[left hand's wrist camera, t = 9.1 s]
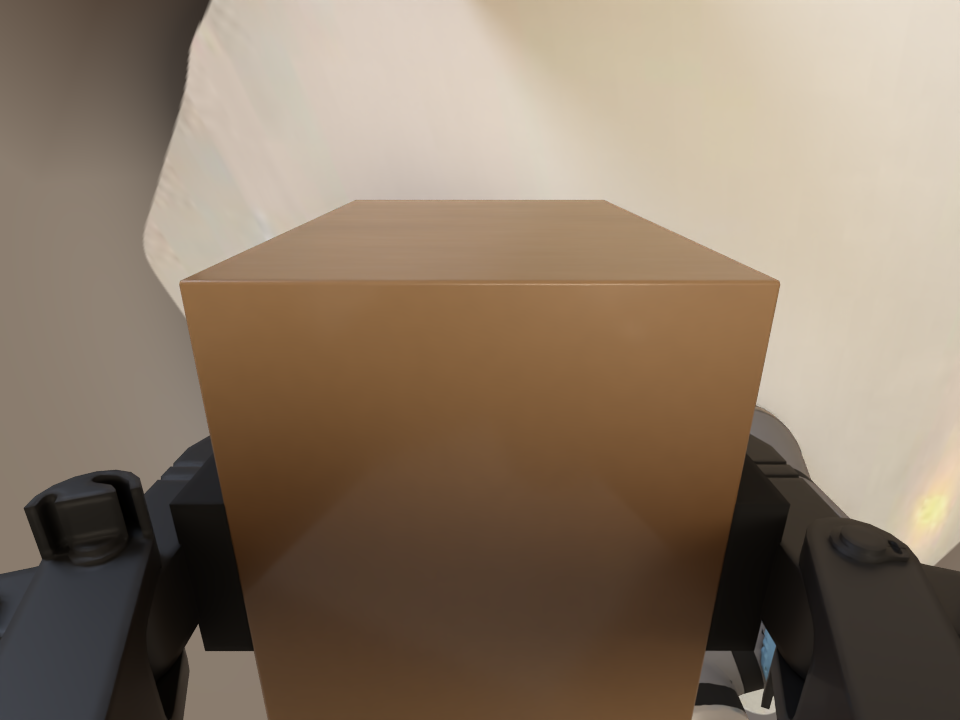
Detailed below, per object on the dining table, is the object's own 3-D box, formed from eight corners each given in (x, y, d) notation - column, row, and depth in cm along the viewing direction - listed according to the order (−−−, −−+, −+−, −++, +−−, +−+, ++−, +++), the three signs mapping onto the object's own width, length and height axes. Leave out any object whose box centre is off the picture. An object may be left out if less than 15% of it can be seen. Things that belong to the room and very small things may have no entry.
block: (583, 470, 19) (681, 778, 10) (376, 470, 19) (278, 778, 10) (605, 199, 15) (782, 280, 6) (354, 199, 15) (176, 280, 6)
